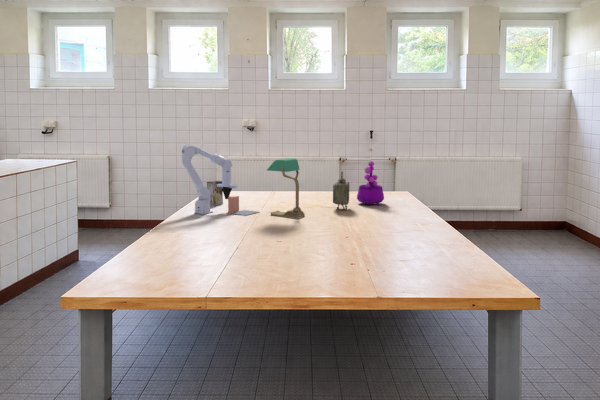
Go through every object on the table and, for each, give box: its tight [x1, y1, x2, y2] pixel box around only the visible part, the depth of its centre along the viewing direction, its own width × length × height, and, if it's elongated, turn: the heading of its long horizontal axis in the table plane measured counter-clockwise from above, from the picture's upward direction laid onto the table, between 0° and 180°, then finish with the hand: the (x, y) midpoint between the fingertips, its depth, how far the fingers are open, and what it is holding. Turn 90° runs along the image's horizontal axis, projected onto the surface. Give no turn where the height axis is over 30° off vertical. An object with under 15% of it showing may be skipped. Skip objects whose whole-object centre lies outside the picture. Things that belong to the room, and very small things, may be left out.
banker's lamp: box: [266, 157, 306, 219], centre depth 347 cm, size 16×21×35 cm
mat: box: [230, 209, 260, 217], centre depth 358 cm, size 14×12×1 cm
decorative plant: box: [356, 160, 385, 205], centre depth 393 cm, size 19×18×30 cm
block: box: [227, 195, 240, 214], centre depth 362 cm, size 6×4×10 cm, turn 150°
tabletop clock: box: [332, 170, 350, 211], centre depth 372 cm, size 14×9×25 cm, turn 168°
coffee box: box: [206, 180, 224, 207], centre depth 389 cm, size 9×6×16 cm
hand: (226, 198), depth 364 cm, fingers closed
